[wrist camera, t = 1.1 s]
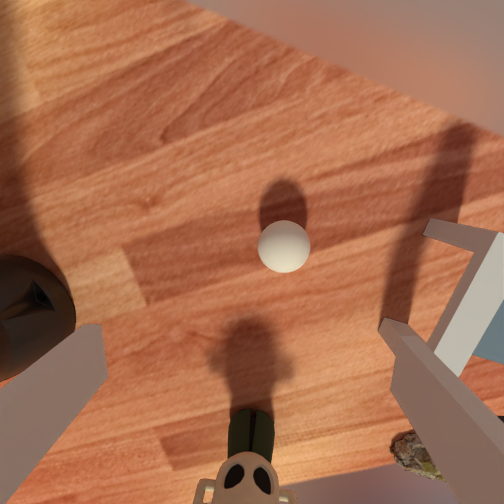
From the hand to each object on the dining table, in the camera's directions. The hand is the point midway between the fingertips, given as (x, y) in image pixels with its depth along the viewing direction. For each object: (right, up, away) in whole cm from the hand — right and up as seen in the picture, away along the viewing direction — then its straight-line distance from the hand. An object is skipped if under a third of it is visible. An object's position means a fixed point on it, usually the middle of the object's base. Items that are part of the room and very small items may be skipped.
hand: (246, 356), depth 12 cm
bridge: (+19, +1, +19) cm, 27 cm away
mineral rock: (+24, -22, +25) cm, 42 cm away
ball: (+4, +5, +17) cm, 18 cm away
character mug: (0, -19, +26) cm, 32 cm away
